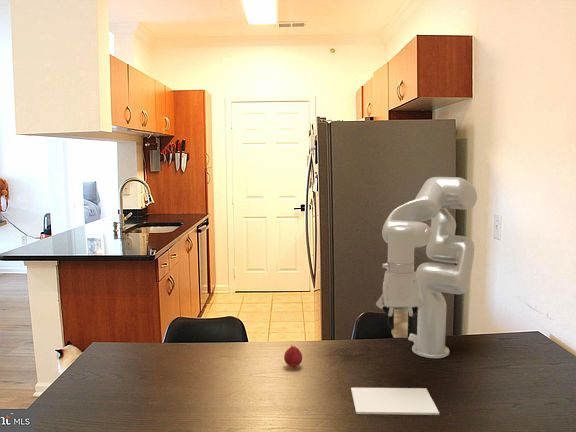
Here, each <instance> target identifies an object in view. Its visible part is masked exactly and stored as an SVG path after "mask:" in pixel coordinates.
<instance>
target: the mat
mask: <svg viewBox="0 0 576 432" xmlns="http://www.w3.org/2000/svg"><path fill="white" fill-rule="evenodd" d="M350 390H351V391H350V392H351V396H352V400H353V405H354V406H353V407H354V410H355V414H356V415H411V416H412V415H415V416H418V415H420V416H424V415H426V416H427V415H428V416H440V411H439V410H438V407H437V406H436V404H435V401H434V399H432V397H431V395H430V393H429V390H428V389H427V388H426V387H425V388H424V387H423V388H422V387H411V388H410V387H409V388H408V387H351V388H350Z"/></svg>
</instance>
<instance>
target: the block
mask: <svg viewBox="0 0 576 432" xmlns="http://www.w3.org/2000/svg"><path fill="white" fill-rule="evenodd" d="M393 317H394V329H393V330H391V329H390V331H391V333H390V334H392V337H393V338H395V339H396V338H400V339H401V338H403V339H405V338H406V339H407V338H409V336H408V335H409V334H408V332H409V330H408V307H394V309H393Z"/></svg>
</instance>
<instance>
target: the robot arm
mask: <svg viewBox="0 0 576 432" xmlns="http://www.w3.org/2000/svg"><path fill="white" fill-rule="evenodd" d="M477 201H478V195H477V190H476V188H475V186H474V185H473V184H472V183H470V182H469V181H468V180H467V179H465V178H463V177H458V176H457V177H456V176H453V177H452V176H432V177H430V178H428V179H427V180H425V181H424V183H423V185H422V187H421V189H419V191H418V193H417V195H416V196H415V198H414V199H412V200H410V201H407V202H406V203H404V204H402V205H399V206H397V207H396V208H394V209H393V210H392V211H391V212H390V214H389V215H388V217H387V218H386V220H385V221H384V224H383V226H382V230H381V231H382V232H381V236H382V239H383V241H384V242H385V243H387V261H386V262H385V263H382V269H386V270H385V272H384V275H383V276H384V277H383V280H382V281H383V282H382V283H383V284H382V293H381V295H380V297H379V299H378V300H377V301H376V302H375V305H376V307H377V308H378V309H381V310H382V311H383V312H384V313H385V314H387V326H389V328H390V331H391V330H393V329H394V317H393V309H394V307H408V331H409V330H410V328H411V326H413V325H412V323H413V322H412V321H413V320H412V319H413V316H414V314H415V313H417V320H416V321H417V322H416V323H417V326H416V329H417V330H416V334H415V333H412V332H411V333H409V334H408V335H409V336H408V341H411V342H413V345H412V346H411V350H412V352H413V353H414V354H415V355H418V356H420V357H423V358H427V359H443V358H445V357H448V356H449V355H450V349H449V347H447V346H446V330H447V329H446V327H447V326H446V324H447V323H446V322H447V302H446V299H445V296H444V295H443V294H442V293H446V294H453V295H463V294H465V293H467V291H468V289H469V286H470V281H471V275H472V269H473V263H474V258H475V243H474V240H473V239H472V238H471V237H468V236H465V235H455V234H456V228H457V223H456V219H455V218H454V216H453V215H452V213H450V212H449V210H448V209H451V210H453V209H454V210H471V209H473V208H474V207H475V205H476V203H477ZM429 220H431V221H430V226H429V225H428V224H427V223H425V221H429ZM425 246H426V250H425V253H426V257H427V258H428V259H429V260H433V261H436V262H437V261H438V262H443V263H436V262H431V261H429V262H423V263H421V264H419V265H418V267H417V268H416V271H415V249H416V248H422V247H425ZM446 263H453V264H446Z"/></svg>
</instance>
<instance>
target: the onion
mask: <svg viewBox="0 0 576 432" xmlns="http://www.w3.org/2000/svg"><path fill="white" fill-rule="evenodd" d="M283 359H284V362H285V363H286V365H287V366H288V367H290V368H291V369H295V368H297V367H299V366H300V365H301V363H302V362H303V354H302V352H301V351H300V349H299V348H298V347H296V346H295V345H294V344H291V345H290V347H289V348H287V350H286V351H285V352H284V355H283Z"/></svg>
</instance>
